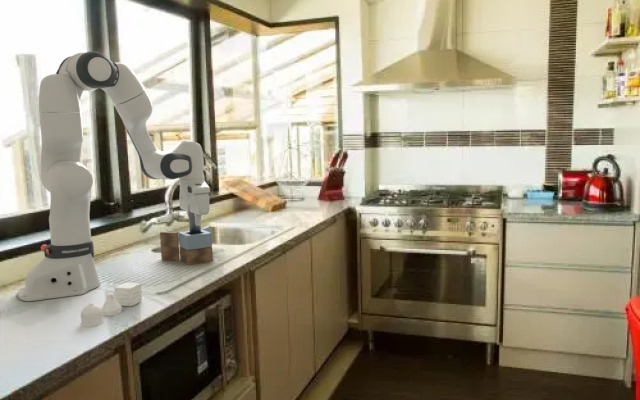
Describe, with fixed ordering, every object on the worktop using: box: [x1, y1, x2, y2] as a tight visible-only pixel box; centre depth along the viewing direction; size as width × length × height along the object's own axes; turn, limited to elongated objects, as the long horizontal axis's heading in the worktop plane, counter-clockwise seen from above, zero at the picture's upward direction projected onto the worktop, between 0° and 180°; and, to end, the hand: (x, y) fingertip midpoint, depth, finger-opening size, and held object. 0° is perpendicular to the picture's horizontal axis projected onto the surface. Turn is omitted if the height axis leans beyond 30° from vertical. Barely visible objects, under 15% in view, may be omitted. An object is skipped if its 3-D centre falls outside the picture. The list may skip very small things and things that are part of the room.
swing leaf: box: [178, 225, 213, 250], centre depth 193 cm, size 14×14×10 cm
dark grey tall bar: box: [188, 203, 202, 235], centre depth 188 cm, size 4×4×13 cm
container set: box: [80, 282, 143, 328], centre depth 136 cm, size 20×5×6 cm, turn 165°
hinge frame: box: [159, 231, 214, 266], centre depth 190 cm, size 14×14×10 cm
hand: (194, 224), depth 188 cm, fingers closed on dark grey tall bar, 4 cm apart
